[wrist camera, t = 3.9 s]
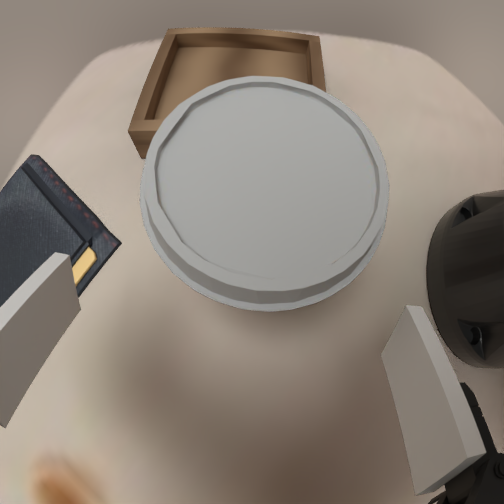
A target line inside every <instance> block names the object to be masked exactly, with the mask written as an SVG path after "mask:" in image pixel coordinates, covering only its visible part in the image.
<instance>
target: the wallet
mask: <svg viewBox="0 0 504 504" xmlns="http://www.w3.org/2000/svg"><path fill="white" fill-rule="evenodd" d="M121 244H122V243H121V242H120V241H119V240H118V239H117V238H116V237H115V236H114V235H113V234H112V233H111V232H110V231H109V230H108V229H107V228H106V227H105V226H104V224H103V223H102V222H101V221H100V219H99V218H98V217H97V216H96V215H95V214H94V213H93V212H92V211H91V210H90V209H89V208H88V207H87V206H86V205H85V203H84V202H83V201H82V200H81V199H80V198H79V197H78V196H77V195H76V194H75V193H74V192H73V191H72V190H71V189H70V188H69V187H68V186H67V184H66V183H65V182H64V181H63V180H62V179H61V178H60V177H59V176H58V175H57V174H56V173H55V171H54V170H53V169H52V168H51V167H50V166H49V165H48V164H47V163H46V162H45V161H44V160H43V159H42V158H41V157H40V156H39V155H32V154H31V155H30V156H29V157H28V158H27V160H26V161H25V162H24V163H23V164H22V165H21V166H20V167H19V169H18V170H17V171H16V172H15V173H14V175H13V176H12V177H11V178H10V180H9V181H8V182H7V184H6V185H5V186H4V187H3V189H2V190H1V192H0V307H1V306H2V305H3V304H4V303H5V302H6V301H7V300H8V299H9V298H10V297H11V296H12V294H13V293H14V292H15V291H16V290H17V289H18V288H19V287H20V286H21V285H22V284H23V283H24V282H25V281H26V280H27V279H28V278H29V277H30V276H31V275H32V274H33V273H34V272H35V271H36V270H37V269H38V268H39V267H40V266H41V265H42V264H43V263H44V262H45V261H46V260H47V259H49V258H50V257H51V256H52V255H53V254H54V253H55V252H57V253H62V254H67V255H70V260H71V265H72V271H73V276H74V281H75V286H76V290H77V295H78V298H79V296H80V295H81V294H82V292H83V291H84V290H85V288H86V287H87V286H88V285H89V283H90V282H91V281H92V279H93V278H94V277H95V276H96V274H97V273H98V272H99V271H100V269H101V268H102V267H103V266H104V264H105V263H106V262H107V261H108V259H109V258H110V257H111V256H112V254H113V253H114V252H115V251H116V250H117V248H118V247H119V246H120V245H121Z"/></svg>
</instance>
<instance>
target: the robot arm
mask: <svg viewBox="0 0 504 504" xmlns="http://www.w3.org/2000/svg"><path fill="white" fill-rule="evenodd" d="M427 282H428V292H429V299H430V304H431V308H432V312H433V315H434V318H435V321H436V324H437V326H438V329H439V331H440V333H441V335H442V337H443V339H444V340H445V342H446V343H447V345H448V346H449V348H450V349H451V350H452V351H453V352H454V354H455V355H456V356H458V357H459V358H460V359H461V360H463V361H464V362H466V363H467V364H469V365H472V366H475V367H480V368H504V190H500V191H493V192H487V193H480V194H476V195H473V196H470V197H468V198H466V199H465V200H463V201H462V202H460V203H459V204H457V205H456V206H454V207H453V208H452V209H450V210H449V211H448V212H447V213H446V214H445V215H444V216H443V217H442V219H441V220H440V222H439V223H438V225H437V227H436V229H435V232H434V234H433V237H432V240H431V244H430V248H429V254H428V263H427ZM80 310H81V308H80V304H79V299H78V295H77V290H76V286H75V281H74V276H73V271H72V265H71V260H70V255H67V254H62V253H57V252H55V253H54V254H53V255H52V256H51V257H50V258H49V259H47V260H46V261H45V262H44V263H43V264H42V265H41V266H40V267H39V268H38V269H37V270H36V271H35V272H34V273H33V274H32V275H31V276H30V277H29V278H28V279H27V280H26V281H25V282H24V283H23V284H22V285H21V286H20V287H19V288H18V289H17V290H16V291H15V292H14V293H13V294H12V296H11V297H10V298H9V299H8V300H7V301H6V302H5V303H4V304H3V305H2V306H1V307H0V425H1V426H2V427H4V428H6V426H7V425H8V423H9V421H10V419H11V417H12V416H13V414H14V412H15V410H16V409H17V407H18V405H19V403H20V402H21V400H22V398H23V396H24V395H25V393H26V391H27V390H28V388H29V386H30V385H31V383H32V382H33V380H34V378H35V377H36V375H37V373H38V372H39V370H40V369H41V367H42V366H43V364H44V362H45V361H46V359H47V358H48V356H49V355H50V353H51V352H52V350H53V349H54V347H55V346H56V344H57V343H58V341H59V340H60V338H61V337H62V335H63V334H64V333H65V331H66V330H67V328H68V327H69V325H70V324H71V323H72V321H73V320H74V318H75V317H76V315H77V314H78V313H79V311H80ZM381 358H382V361H383V364H384V368H385V371H386V375H387V378H388V381H389V385H390V389H391V392H392V396H393V400H394V403H395V407H396V411H397V415H398V419H399V423H400V427H401V431H402V435H403V439H404V444H405V448H406V452H407V457H408V462H409V466H410V471H411V476H412V481H413V487H414V492H415V496H416V495H421V494H426V493H430V492H434V491H435V490H437V489H439V488H440V487H441V486H443V485H445V489H446V491H444V492H443V493H441V494H439V495H438V496H436V497H435V498H433V499H431V501H430V502H429V503H428V504H433V503H435V502H436V501H438V502H437V504H504V454H503V453H497V450H496V448H495V446H494V443H493V440H492V437H491V435H490V432H489V429H488V427H487V424H486V422H485V419H484V417H482V412H481V409H480V407H478V405H479V404H478V402H477V400H476V397H475V395H474V393H473V392H472V391H471V389H470V388H469V387H468V386H467V385H466V383H459V381H458V379H457V376H456V374H455V372H454V370H453V368H452V365H451V363H450V361H449V359H448V357H447V355H446V353H445V351H444V349H443V347H442V345H441V343H440V340H439V338H438V337H437V335H436V333H435V331H434V329H433V327H432V325H431V323H430V321H429V319H428V317H427V315H426V313H425V312H424V310H423V308H422V306H413V305H406V306H405V308H404V310H403V312H402V314H401V316H400V318H399V320H398V322H397V324H396V326H395V328H394V330H393V332H392V334H391V336H390V338H389V340H388V342H387V344H386V346H385V348H384V349H383V351H382V353H381Z"/></svg>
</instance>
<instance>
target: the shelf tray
mask: <svg viewBox="0 0 504 504" xmlns="http://www.w3.org/2000/svg"><path fill="white" fill-rule="evenodd" d="M247 76H270V77H284V78H288V79H291V80H295V81H299V82H302V83H306V84H309V85H312V86H315V87H317V88H319V89H320V90H322V91H324V92H326V88H325V78H324V69H323V61H322V53H321V45H320V38H319V36H313V35H306V34H299V33H291V32H283V31H273V30H262V29H246V28H175V29H168V30H167V33H166V35H165V37H164V39H163V41H162V43H161V46H160V48H159V50H158V52H157V55H156V57H155V59H154V62H153V64H152V67H151V69H150V72H149V74H148V76H147V79H146V82H145V84H144V87H143V89H142V92H141V95H140V97H139V100H138V103H137V106H136V108H135V111H134V114H133V117H132V120H131V123H130V126H129V129H128V133H129V135H130V137H131V139H132V141H133V143H134V145H135V147H136V149H137V151H138V153H139V155H140V157H141V158H146V156H147V152H148V149H149V147H150V144H151V141H152V139H153V137H154V135H155V134H156V132H157V130H158V129H159V127H160V126H161V124H162V122H163V121H164V120H165V119H166V117H167V116H168V115H169V114H170V113H171V112H172V111H173V110H174V109H175V108H176V107H177V106H178V105H179V104H180V103H182V102H183V101H185V100H186V99H188V98H190V97H191V96H193V95H194V94H196V93H198V92H199V91H201V90H203V89H205V88H206V87H208V86H211V85H214V84H216V83H219V82H222V81H225V80H229V79H235V78H241V77H247Z"/></svg>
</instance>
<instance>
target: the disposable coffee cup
mask: <svg viewBox="0 0 504 504" xmlns="http://www.w3.org/2000/svg"><path fill="white" fill-rule="evenodd" d="M388 198H389V180H388V174H387V169H386V164H385V160H384V157H383V155H382V152H381V150H380V147H379V145H378V143H377V141H376V140H375V138H374V136H373V135H372V133H371V131H370V130H369V129H368V128H367V126H366V125H365V124H364V123H363V121H362V120H361V119H360V118H359V116H358V115H356V114H355V113H354V112H353V111H352V110H351V109H349V108H348V107H347V106H346V105H345V104H344V103H342V102H341V101H340V100H339V99H337V98H335V97H333V96H332V95H330V94H328V93H326V92H324V91H322V90H320V89H319V88H317V87H315V86H312V85H309V84H306V83H302V82H299V81H295V80H291V79H288V78H284V77H270V76H247V77H241V78H235V79H229V80H225V81H222V82H219V83H216V84H214V85H211V86H208V87H206V88H205V89H203V90H201V91H199V92H198V93H196V94H194V95H193V96H191V97H190V98H188V99H186V100H185V101H183V102H182V103H180V104H179V105H178V106H177V107H176V108H175V109H174V110H173V111H172V112H171V113H170V114H169V115H168V116H167V117H166V119H165V120H164V121H163V122H162V124H161V126H160V127H159V129H158V130H157V132H156V134H155V135H154V137H153V139H152V141H151V144H150V147H149V149H148V152H147V156H146V161H145V166H144V168H143V173H142V178H141V184H140V207H141V212H142V217H143V222H144V227H145V229H146V231H147V234H148V236H149V238H150V241H151V243H152V245H153V248H154V250H155V251H156V252H157V254H158V255H159V256H160V257H161V259H162V260H163V261H164V263H165V264H166V265H167V266H168V268H169V269H170V270H171V271H172V273H174V274H175V275H176V276H177V277H178V278H180V279H181V280H182V281H183V282H185V283H186V284H187V285H188V286H189V287H191V288H192V289H193V290H195V291H197V292H198V293H200V294H202V295H204V296H206V297H208V298H210V299H212V300H214V301H217V302H220V303H223V304H226V305H229V306H232V307H235V308H239V309H244V310H255V311H268V312H272V311H282V310H292V309H296V308H300V307H304V306H307V305H311V304H315V303H317V302H319V301H321V300H323V299H325V298H327V297H330V296H332V295H333V294H335V293H336V292H338V291H339V290H341V289H342V288H344V287H345V286H347V285H348V284H350V283H351V282H352V281H353V280H354V279H355V278H356V277H357V276H358V275H359V274H360V273H361V272H362V271H363V269H364V268H365V267H366V265H367V264H368V263H369V261H370V260H371V258H372V256H373V255H374V253H375V251H376V249H377V248H378V246H379V243H380V240H381V237H382V234H383V231H384V228H385V222H386V214H387V207H388Z"/></svg>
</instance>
